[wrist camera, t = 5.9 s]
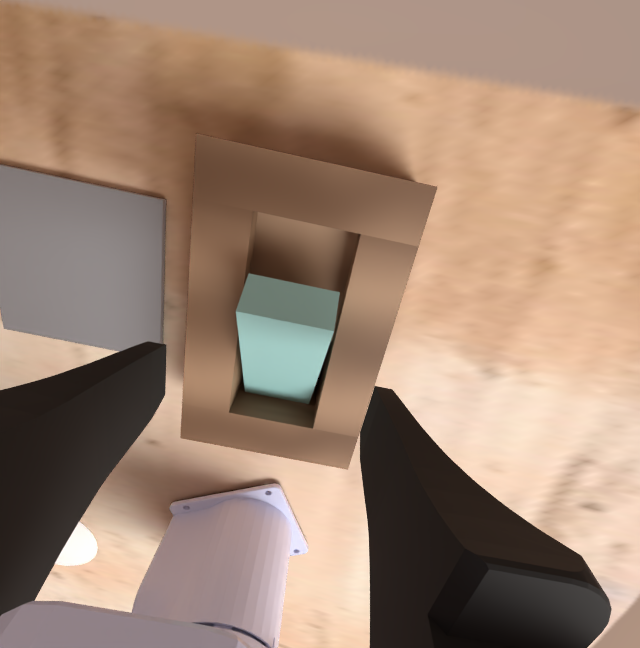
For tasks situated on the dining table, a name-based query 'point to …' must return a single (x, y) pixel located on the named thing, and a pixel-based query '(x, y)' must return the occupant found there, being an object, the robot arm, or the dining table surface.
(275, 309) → the teal block
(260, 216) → the walnut frame
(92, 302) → the grey mat
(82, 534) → the wineglass
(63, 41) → the dining table surface
